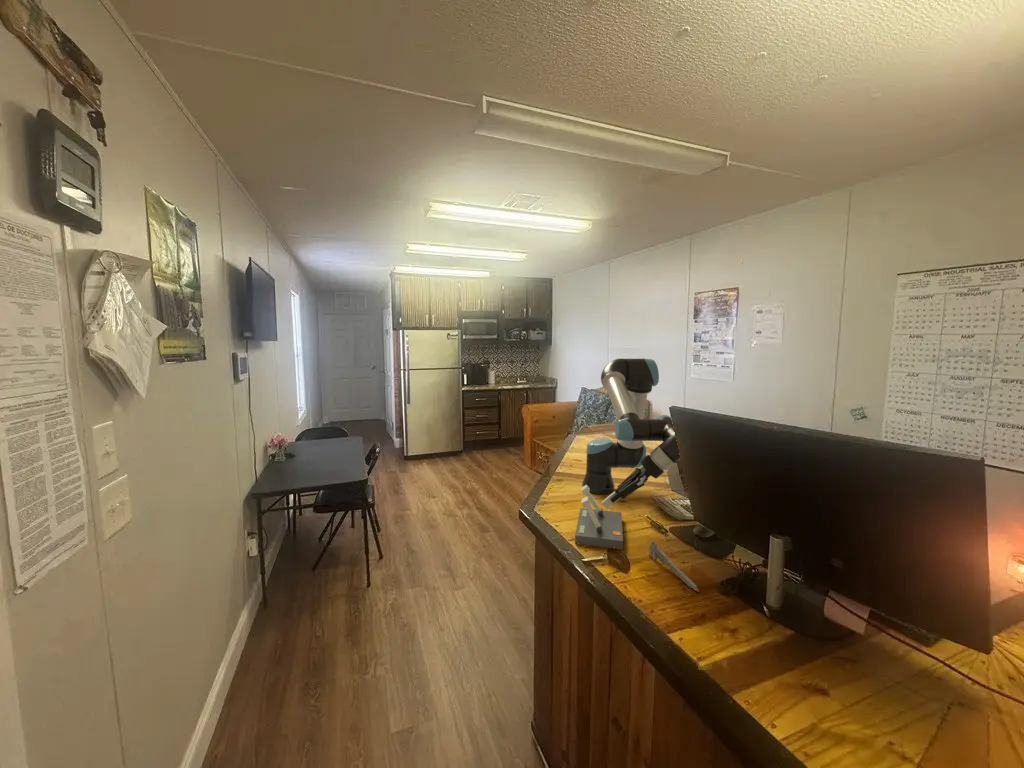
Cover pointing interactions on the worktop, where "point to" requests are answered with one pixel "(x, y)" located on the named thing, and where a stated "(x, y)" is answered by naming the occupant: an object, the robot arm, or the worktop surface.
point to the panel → (610, 529)
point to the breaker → (592, 499)
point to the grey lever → (591, 513)
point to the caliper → (669, 564)
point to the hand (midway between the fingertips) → (604, 505)
